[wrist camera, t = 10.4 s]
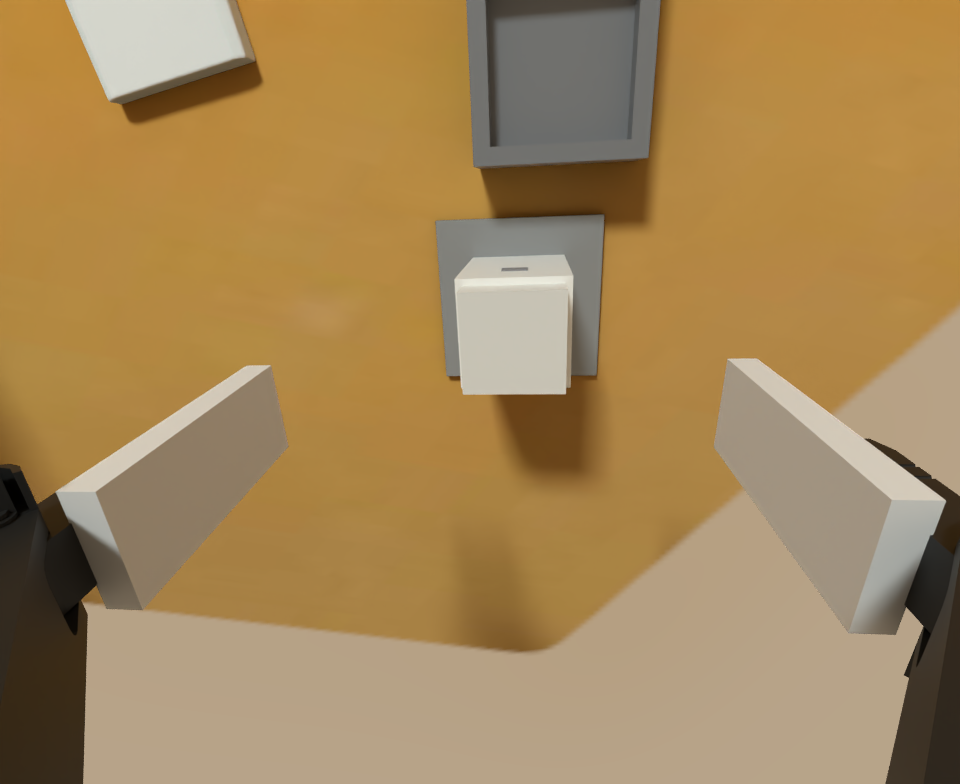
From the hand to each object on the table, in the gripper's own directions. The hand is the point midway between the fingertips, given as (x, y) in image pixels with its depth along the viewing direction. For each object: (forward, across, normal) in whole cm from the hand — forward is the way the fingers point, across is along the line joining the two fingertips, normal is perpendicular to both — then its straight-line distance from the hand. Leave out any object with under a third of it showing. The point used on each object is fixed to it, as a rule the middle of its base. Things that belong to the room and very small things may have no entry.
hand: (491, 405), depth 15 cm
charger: (+15, +1, 0) cm, 15 cm away
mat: (+15, +1, 0) cm, 15 cm away
